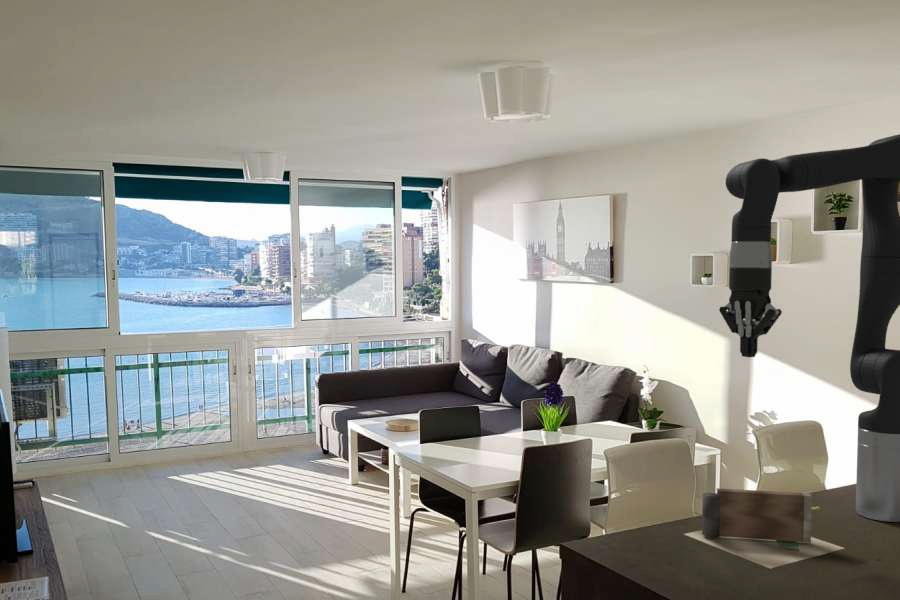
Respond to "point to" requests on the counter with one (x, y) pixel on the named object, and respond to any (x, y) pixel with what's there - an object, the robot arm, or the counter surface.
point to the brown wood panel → (757, 515)
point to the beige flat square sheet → (768, 549)
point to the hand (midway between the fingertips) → (748, 356)
